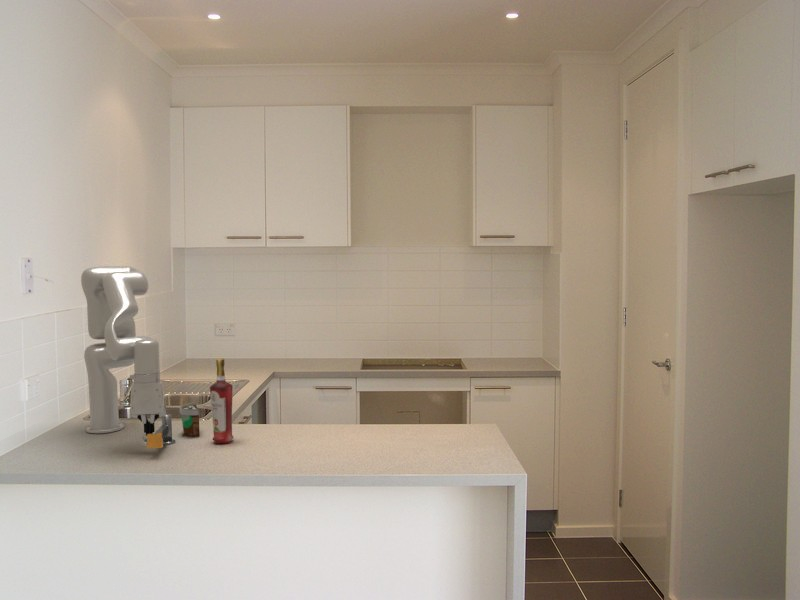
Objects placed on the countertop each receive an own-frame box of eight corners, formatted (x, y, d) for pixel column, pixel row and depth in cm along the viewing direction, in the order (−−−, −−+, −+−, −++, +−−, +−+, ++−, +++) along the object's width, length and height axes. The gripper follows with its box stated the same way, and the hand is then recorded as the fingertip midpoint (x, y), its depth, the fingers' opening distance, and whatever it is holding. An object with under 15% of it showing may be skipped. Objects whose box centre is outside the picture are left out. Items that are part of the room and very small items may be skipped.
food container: (179, 431, 249) (178, 403, 248) (197, 429, 251) (196, 402, 250) (181, 439, 237) (180, 410, 237) (200, 437, 239) (198, 409, 239)
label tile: (143, 436, 243) (142, 433, 243) (161, 434, 245) (161, 431, 245) (144, 441, 235) (144, 438, 235) (163, 439, 238) (163, 436, 238)
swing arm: (158, 435, 231) (158, 422, 230) (172, 434, 231) (172, 421, 231) (147, 448, 215) (146, 434, 215) (162, 447, 215) (161, 433, 215)
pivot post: (159, 441, 235) (158, 414, 234) (174, 440, 237) (173, 412, 236) (160, 445, 230) (159, 417, 230) (176, 443, 232) (175, 415, 232)
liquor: (207, 443, 232) (204, 360, 230) (222, 438, 238) (219, 357, 236) (224, 446, 228) (220, 361, 226) (239, 440, 235) (236, 358, 233)
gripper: (119, 381, 216) (122, 439, 218) (169, 379, 219) (171, 436, 220) (125, 376, 224) (127, 432, 225) (173, 375, 226) (175, 430, 227)
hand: (149, 434), depth 223 cm, fingers closed
